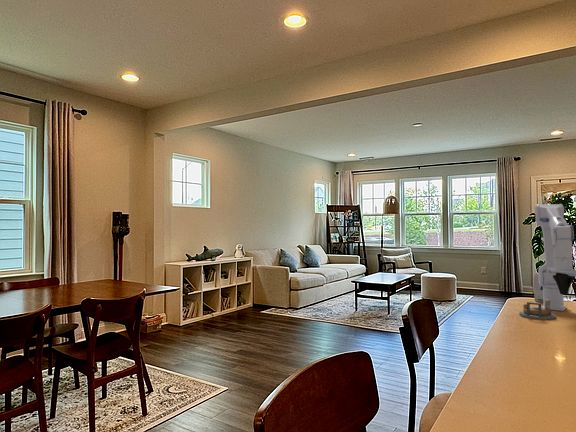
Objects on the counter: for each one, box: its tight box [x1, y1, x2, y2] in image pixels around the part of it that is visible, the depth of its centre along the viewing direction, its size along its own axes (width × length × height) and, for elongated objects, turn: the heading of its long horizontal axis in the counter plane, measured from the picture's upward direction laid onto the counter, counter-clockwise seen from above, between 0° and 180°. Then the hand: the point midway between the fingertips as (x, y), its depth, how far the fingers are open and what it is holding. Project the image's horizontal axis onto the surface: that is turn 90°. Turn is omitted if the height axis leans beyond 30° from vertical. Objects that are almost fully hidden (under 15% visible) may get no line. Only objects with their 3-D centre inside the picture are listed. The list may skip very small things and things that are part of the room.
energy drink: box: [533, 273, 543, 303], centre depth 188 cm, size 5×5×12 cm
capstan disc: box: [522, 300, 552, 315], centre depth 158 cm, size 9×9×5 cm
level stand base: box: [518, 301, 557, 321], centre depth 158 cm, size 12×12×6 cm
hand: (564, 294), depth 152 cm, fingers closed
